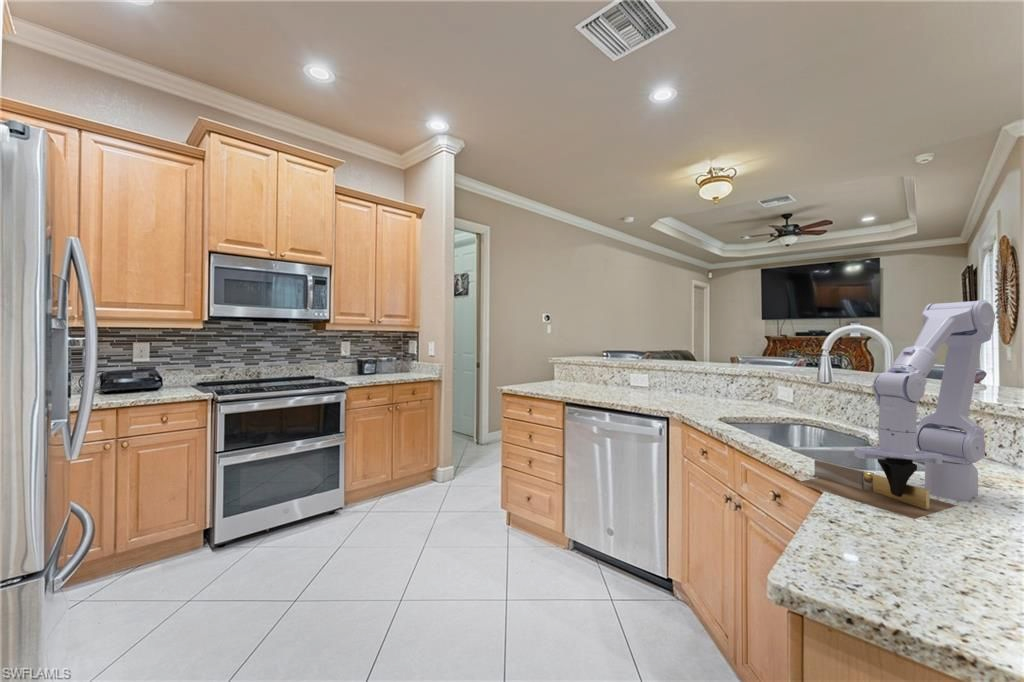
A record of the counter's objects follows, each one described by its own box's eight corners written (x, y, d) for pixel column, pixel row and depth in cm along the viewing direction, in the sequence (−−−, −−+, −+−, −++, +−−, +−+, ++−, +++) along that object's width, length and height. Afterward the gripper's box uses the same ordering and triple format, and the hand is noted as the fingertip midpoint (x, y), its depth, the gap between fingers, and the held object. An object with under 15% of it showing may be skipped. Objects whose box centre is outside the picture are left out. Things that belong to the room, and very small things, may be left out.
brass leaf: (861, 488, 94) (861, 471, 94) (867, 488, 94) (868, 471, 94) (924, 509, 82) (924, 490, 82) (931, 509, 82) (931, 490, 82)
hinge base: (832, 476, 106) (832, 456, 106) (957, 510, 85) (957, 485, 85) (789, 484, 99) (789, 464, 99) (914, 523, 78) (914, 497, 78)
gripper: (869, 431, 84) (868, 498, 84) (955, 436, 81) (954, 506, 80) (848, 424, 91) (847, 486, 90) (927, 429, 87) (926, 493, 87)
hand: (896, 495), depth 86 cm, fingers closed
